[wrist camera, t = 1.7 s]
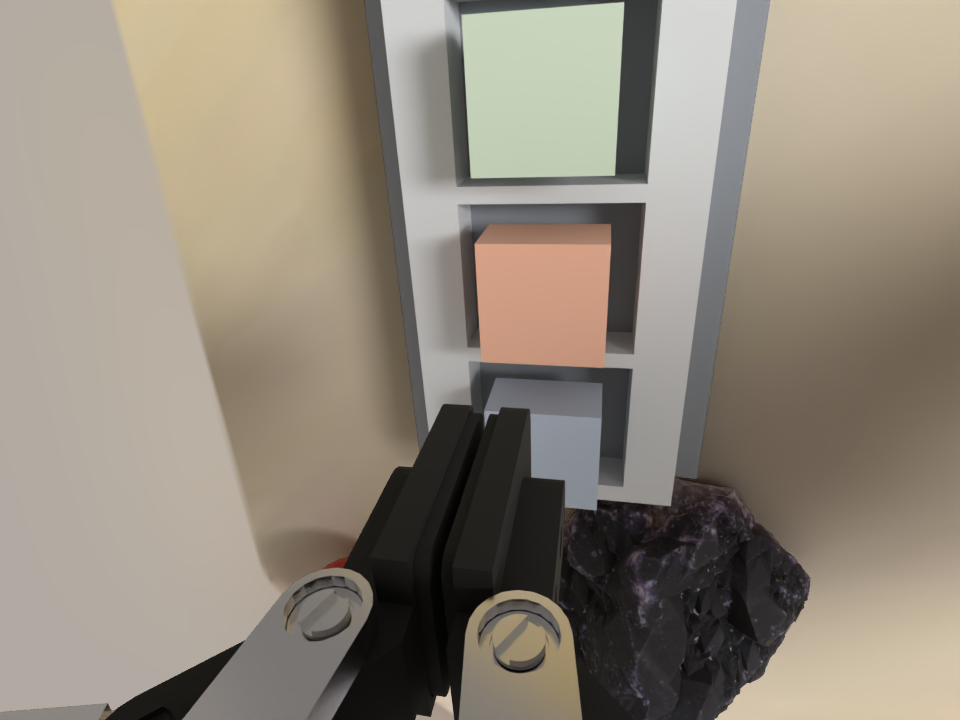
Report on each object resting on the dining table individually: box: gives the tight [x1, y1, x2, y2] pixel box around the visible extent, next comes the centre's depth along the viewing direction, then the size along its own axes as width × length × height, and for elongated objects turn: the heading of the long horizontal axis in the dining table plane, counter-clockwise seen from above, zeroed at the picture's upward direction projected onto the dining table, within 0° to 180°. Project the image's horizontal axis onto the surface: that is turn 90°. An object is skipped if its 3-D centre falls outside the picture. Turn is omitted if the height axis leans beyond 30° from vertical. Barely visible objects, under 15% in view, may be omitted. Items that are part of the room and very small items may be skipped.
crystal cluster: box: [558, 477, 810, 720], centre depth 27 cm, size 13×14×10 cm
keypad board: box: [364, 0, 770, 506], centre depth 21 cm, size 13×26×4 cm, turn 3°
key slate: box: [484, 378, 602, 510], centre depth 22 cm, size 4×4×2 cm
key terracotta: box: [475, 224, 611, 368], centre depth 20 cm, size 4×4×2 cm
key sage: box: [462, 2, 624, 178], centre depth 17 cm, size 4×4×2 cm
